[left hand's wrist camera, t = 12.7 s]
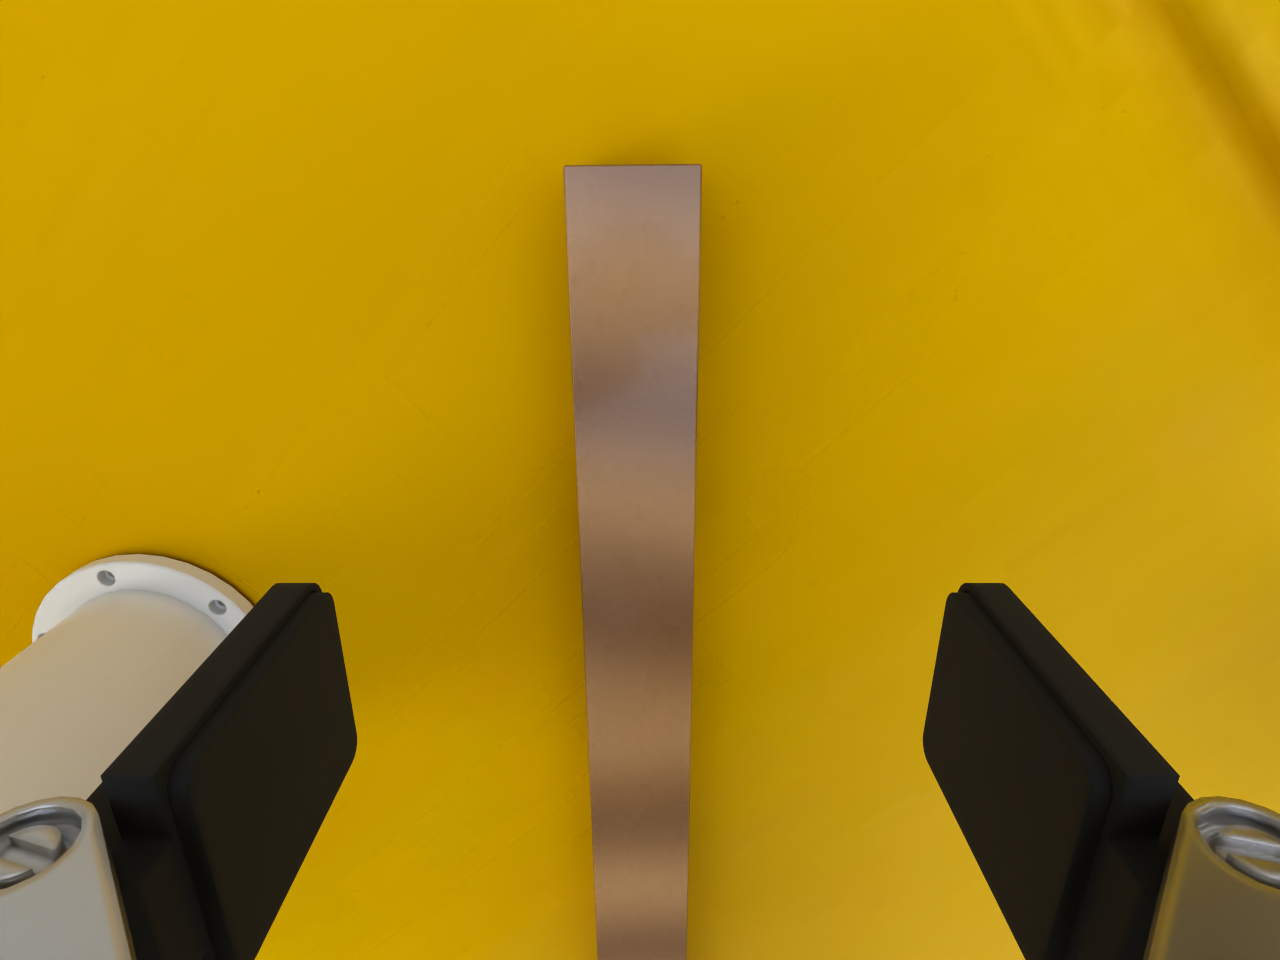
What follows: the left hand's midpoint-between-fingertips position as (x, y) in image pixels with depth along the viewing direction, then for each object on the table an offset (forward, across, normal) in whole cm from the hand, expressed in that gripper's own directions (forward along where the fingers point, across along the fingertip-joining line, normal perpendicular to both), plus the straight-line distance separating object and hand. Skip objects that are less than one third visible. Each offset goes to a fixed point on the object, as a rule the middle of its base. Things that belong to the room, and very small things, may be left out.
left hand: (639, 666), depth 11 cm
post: (+25, 0, -21) cm, 32 cm away
